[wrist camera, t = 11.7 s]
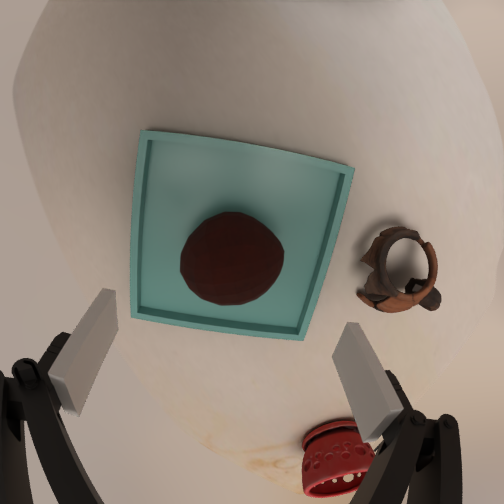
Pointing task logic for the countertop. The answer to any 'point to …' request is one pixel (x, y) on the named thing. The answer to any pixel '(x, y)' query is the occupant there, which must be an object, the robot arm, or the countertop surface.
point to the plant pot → (334, 459)
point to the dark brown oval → (231, 259)
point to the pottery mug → (416, 288)
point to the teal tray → (232, 200)
